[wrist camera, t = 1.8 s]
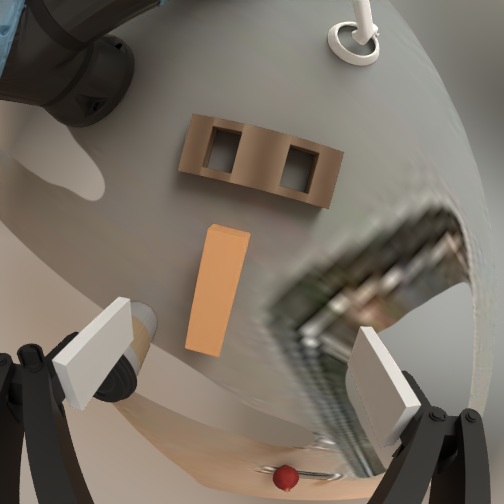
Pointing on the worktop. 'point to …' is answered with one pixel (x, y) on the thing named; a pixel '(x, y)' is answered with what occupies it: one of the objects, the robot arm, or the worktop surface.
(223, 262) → the wooden arch block
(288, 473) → the onion
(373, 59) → the hook
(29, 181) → the worktop surface
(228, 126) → the hollow block
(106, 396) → the coffee cup
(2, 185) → the worktop surface
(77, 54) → the robot arm
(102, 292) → the worktop surface
